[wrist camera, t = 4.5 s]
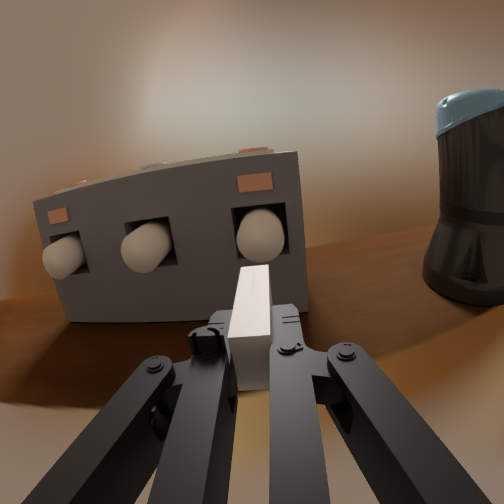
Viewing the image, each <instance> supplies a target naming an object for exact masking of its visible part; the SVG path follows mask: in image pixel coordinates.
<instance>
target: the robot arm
mask: <svg viewBox="0 0 504 504" xmlns="http://www.w3.org/2000/svg"><path fill="white" fill-rule="evenodd" d="M436 119H437V134H436V139H437V140H438V152H439V174H440V175H439V176H440V204H439V209H440V210H439V218H438V221H437V224H436V227H435V229H434V232H433V235H432V238H431V240H430V243H429V246H428V249H427V251H426V253H425V256H424V262H423V272H422V274H423V278H424V280H425V281H426V282H427V284H428V285H429V286H430V287H432V288H433V289H434V290H436V291H437V292H439V293H441V294H442V295H444V296H447V297H449V298H451V299H454V300H457V301H460V302H464V303H468V304H473V305H481V306H497V305H503V304H504V90H500V89H478V90H470V91H464V92H460V93H455V94H452V95H450V96H447V97H445V98H444V99H442V100H441V101H440V102H439V104H438V106H437V109H436ZM187 337H188V340H189V344H190V347H191V351H192V357H191V359H189V360H186V361H183V362H178V363H172V361H171V360H170V358H169V357H166V356H153V357H150V358H148V359H146V360H144V361H143V362H142V363H141V364H140V365H139V366H138V368H137V369H136V370H135V371H134V372H133V373H132V374H131V376H130V377H129V378H128V379H127V380H126V381H125V382H124V384H123V385H122V386H121V387H120V388H119V389H118V391H117V392H116V393H115V394H114V395H113V396H112V397H111V399H110V400H109V401H108V402H107V403H106V404H105V406H104V407H103V408H102V409H101V410H100V411H99V413H98V414H97V415H96V416H95V417H94V418H93V419H92V421H91V422H90V423H89V424H88V425H87V427H86V428H85V429H84V430H83V431H82V432H81V433H80V435H79V436H78V437H77V438H76V439H75V441H74V442H73V443H72V444H71V445H70V446H69V448H68V449H67V450H66V451H65V452H64V453H63V455H62V456H61V457H60V458H59V459H58V460H57V462H56V463H55V464H54V465H53V467H52V468H51V469H50V470H49V471H48V472H47V474H46V475H45V476H44V477H43V478H42V479H41V481H40V482H39V483H38V484H37V486H36V487H35V488H34V489H33V490H32V491H31V493H30V494H29V495H28V496H27V497H26V499H25V500H24V501H23V502H22V503H21V504H134V503H135V501H136V499H137V498H138V497H139V495H140V493H141V492H142V490H143V489H144V487H145V486H146V484H147V482H148V481H149V479H150V478H151V476H152V474H153V473H154V471H155V469H156V468H157V471H156V474H155V478H154V481H153V485H152V488H151V492H150V495H149V499H148V503H147V504H227V500H228V490H229V480H230V471H231V461H232V452H233V442H234V432H235V422H236V413H237V403H238V399H237V394H236V386H238V391H245V390H264V389H270V485H269V486H270V487H269V504H330V498H329V489H328V481H327V474H326V467H325V459H324V452H323V446H322V439H321V431H320V425H319V418H318V413H317V406H316V404H323V405H325V406H326V409H327V411H328V413H329V414H330V416H331V418H332V420H333V421H334V423H335V425H336V427H337V429H338V430H339V432H340V434H341V436H342V438H343V439H344V441H345V443H346V445H347V447H348V448H349V450H350V452H351V454H352V455H353V457H354V459H355V460H356V462H357V464H358V466H359V468H360V470H361V471H362V473H363V475H364V477H365V478H366V480H367V482H368V484H369V485H370V487H371V489H372V491H373V492H374V494H375V496H376V498H377V499H378V501H379V503H380V504H492V503H491V502H490V501H489V499H488V498H487V497H486V495H484V493H483V492H482V490H481V489H480V488H479V487H478V485H477V484H476V483H475V482H474V480H473V479H472V478H471V477H470V475H469V474H468V473H467V472H466V470H465V469H464V468H463V467H462V466H461V464H460V463H459V462H458V461H457V459H456V458H455V457H454V456H453V455H452V453H451V452H450V451H449V450H448V448H447V447H446V446H445V445H444V443H443V442H442V441H441V440H440V439H439V437H438V436H437V435H436V434H435V433H434V431H433V430H432V429H431V428H430V427H429V425H428V424H427V423H426V422H425V421H424V420H423V418H422V417H421V416H420V415H419V413H418V412H417V411H416V410H415V409H414V408H413V406H412V405H411V404H410V403H409V402H408V401H407V399H406V398H405V397H404V396H403V395H402V394H401V392H400V391H399V390H398V389H397V388H396V386H395V385H394V384H393V383H392V382H391V381H390V379H389V378H388V377H387V376H386V375H385V374H384V372H383V371H382V370H381V369H380V368H379V367H378V365H377V364H376V363H375V362H374V361H373V360H372V358H371V357H370V356H369V355H368V354H367V353H366V352H365V350H364V349H363V348H362V347H360V346H359V345H357V344H354V343H347V342H344V343H338V344H336V345H334V346H332V347H331V348H330V349H329V350H328V352H320V351H315V350H312V349H310V348H309V347H307V346H306V345H305V343H304V340H303V335H302V329H301V324H300V319H299V313H298V309H297V308H296V307H295V306H294V305H293V304H284V305H274V306H273V304H272V295H271V285H270V275H269V266H268V265H258V266H247V267H241V270H240V275H239V280H238V285H237V290H236V295H235V301H234V306H233V310H221V311H216V312H215V313H214V314H213V315H212V316H211V317H210V320H209V325H208V326H203V327H199V328H197V329H195V330H193V331H192V332H190V334H189V335H188V336H187ZM157 466H158V467H157Z"/></svg>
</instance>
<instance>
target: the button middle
mask: <svg viewBox="0 0 504 504" xmlns="http://www.w3.org/2000/svg"><path fill="white" fill-rule="evenodd" d="M173 247H174V242H173V237H172V232H171V227H170V222H169V221H167V220H165V219H163V218H153V219H151V220H149V221H148V222H146V223H145V224H143V225H142V226H140V227H139V228H137V229H136V230H134V231H133V232H131V233H130V234H129V235H127V236H126V237H125V238H124V240H123V242H122V245H121V255H122V258H123V260H124V262H125V263H126V265H127V266H128V267H129V268H130V269H132V270H133V271H135V272H138V273H148V272H151V271H152V270H154V269H155V268H156V267H157V266H158V264H159V263H160V262H161V261H162V260H163V259H164V258H165V256H166V255H167V254H168V253H169V252H170V251H171V250H172V248H173Z"/></svg>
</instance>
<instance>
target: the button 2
mask: <svg viewBox="0 0 504 504" xmlns="http://www.w3.org/2000/svg"><path fill="white" fill-rule="evenodd" d="M237 246H238V249H239V251H240V252H241V254H242V255H243V256H244V257H246V258H247V259H249V260H251V261H253V262H259V263H262V262H268V261H270V260H273V259H274V258H276V257H277V256H278V255H279V254H280V252H281V251H282V249H283V246H284V233H283V229H282V224H281V220H280V217H279V215H278V213H277V212H276V211H275V210H274V209H273V208H271V207H269V206H266V205H256V206H253V207H251V208H250V209H248V210H247V211H246V212H245V214H244V216H243V218H242V221H241V224H240V227H239V230H238V233H237Z"/></svg>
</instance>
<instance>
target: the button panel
mask: <svg viewBox="0 0 504 504" xmlns="http://www.w3.org/2000/svg"><path fill="white" fill-rule="evenodd" d="M139 168H140V170H136V171H131V172H128V173H123V174H118V175H114V176H110V177H106V178H102V179H98V180H94V181H90V182H86V180H85V181H81V182H77V183H74V184H70V185H67V186H64V188H65V189H62V190H58V191H55V195H52V196H49V197H46V198H42V199H39V200H36V201H34V202H33V205H34V210H35V215H36V219H37V224H38V228H39V232H40V236H41V240H42V244H43V248H44V249H45V248H46V247H47V246H49V245H51V244H53V243H54V242H56V241H58V240H60V239H62V238H64V237H65V236H67V235H69V234H71V233H73V232H75V231H79V233H80V237H81V241H82V245H83V249H84V253H85V256H86V260H87V262H86V263H85V264H83V265H82V266H80V267H79V268H78V269H76V270H75V271H74V272H72V273H71V274H70V275H68V276H67V277H66V278H64V279H62V280H57V279H55V278H53V281H54V284H55V286H56V289H57V292H58V295H59V298H60V301H61V303H62V306H63V309H64V311H65V314H66V316H67V319H68V321H69V322H165V321H192V320H210V317H211V316H212V315H213V314H214V313H215V312H216V311H221V310H233V306H234V301H235V295H236V290H237V285H238V280H239V275H240V270H241V267H247V266H258V265H268V266H269V275H270V285H271V295H272V304H273V306H274V305H284V304H293V305H294V306H295V307H296V308H297V309H298V313H299V312H308V289H307V269H306V251H305V236H304V223H303V209H302V197H301V186H300V175H299V165H298V155H297V151H287V152H276V153H274V152H273V149H269V150H268V147H260V148H251V149H244V150H239V153H235V154H227V155H220V156H214V157H207V158H200V159H195V160H188V161H182V162H176V163H171V164H166V162H162V163H156V164H151V165H146V166H142V167H139ZM256 205H266V206H269V207H271V208H273V209H274V210H275V211H276V212H277V213H278V215H279V217H280V220H281V224H282V229H283V233H284V246H283V249H282V251H281V252H280V254H279V255H278V256H277V257H276V258H274V259H273V260H270V261H268V262H262V263H259V262H253V261H251V260H249V259H247V258H246V257H244V256H243V255H242V254H241V252H240V251H239V249H238V246H237V233H238V230H239V227H240V224H241V221H242V218H243V216H244V214H245V212H246V211H247V210H248V209H250V208H251V207H253V206H256ZM153 218H163V219H165V220H167V221H169V222H170V227H171V232H172V237H173V242H174V247H173V248H172V250H171V251H170V252H169V253H168V254H167V255H166V256H165V258H164V259H163V260H162V261H161V262H160V263H159V264H158V266H157V267H156V268H155V269H154V270H152V271H151V272H148V273H138V272H135V271H133V270H132V269H130V268H129V267H128V266H127V265H126V263H125V262H124V260H123V258H122V255H121V245H122V242H123V240H124V238H125V237H126V236H127V235H129V234H130V233H131V232H133V231H134V230H136V229H137V228H139V227H140V226H142V225H143V224H145V223H146V222H148V221H149V220H151V219H153Z"/></svg>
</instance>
